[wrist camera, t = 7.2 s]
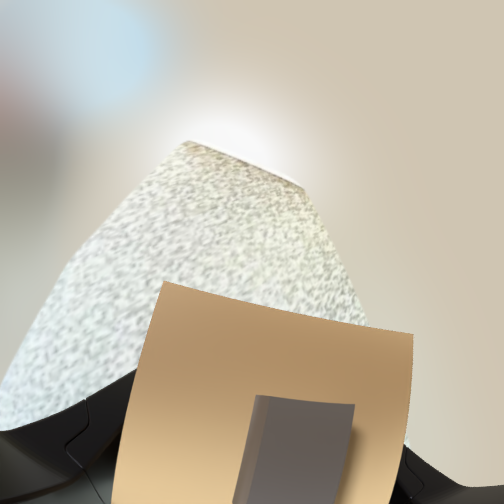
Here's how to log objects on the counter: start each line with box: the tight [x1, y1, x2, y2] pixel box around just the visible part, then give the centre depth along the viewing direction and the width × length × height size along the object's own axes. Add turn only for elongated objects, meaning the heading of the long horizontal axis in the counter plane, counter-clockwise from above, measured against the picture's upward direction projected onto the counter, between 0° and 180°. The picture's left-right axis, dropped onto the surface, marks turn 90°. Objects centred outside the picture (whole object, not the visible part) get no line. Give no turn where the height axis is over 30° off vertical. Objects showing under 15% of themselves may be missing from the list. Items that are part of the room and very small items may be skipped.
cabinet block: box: [111, 281, 413, 504], centre depth 8 cm, size 5×5×12 cm
